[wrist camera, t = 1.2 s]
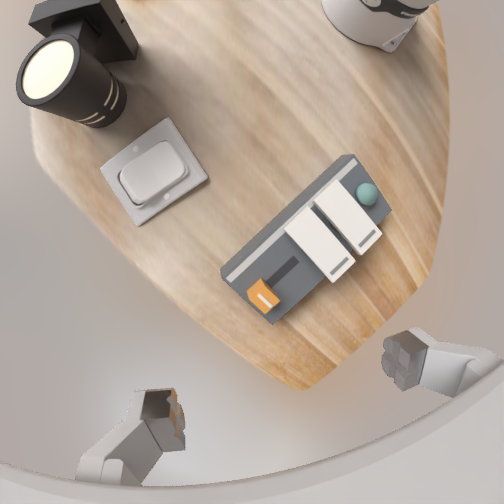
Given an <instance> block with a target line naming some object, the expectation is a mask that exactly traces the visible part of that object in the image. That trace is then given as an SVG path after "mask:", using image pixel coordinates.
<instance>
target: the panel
mask: <svg viewBox="0 0 504 504" xmlns="http://www.w3.org/2000/svg"><path fill="white" fill-rule="evenodd" d="M335 179H337V180H338V181H339V182H340V183H341V185H342V186H343V187H344V188H345V189H346V190H347V191H348V193H349V194H350V195H351V196H352V197H353V198H354V200H355V201H356V202H357V203H358V204H359V205H360V207H361V208H362V209H363V210H364V211H365V213H366V214H367V215H368V216H369V218H370V219H371V220H372V221H373V222H374V224H375V225H376V226H377V225H378V224H379V223H380V222H381V221H382V220H383V219H384V218H385V217H386V216H387V215H388V214H389V213H390V212H391V211H392V209H391V208H390V206H389V205H388V203H387V201H386V200H385V198H384V197H383V195H382V194H381V192H380V191H379V189H378V188H377V186H376V185H375V183H374V182H373V180H372V179H371V177H370V176H369V175H368V173H367V172H366V170H365V169H364V167H363V166H362V165H361V163H360V162H359V160H358V159H357V158H356V156H355V155H354V154H351V155H342V156H341V157H339V158H338V159H337V160H336V161H335V162H334V163H333V164H332V165H331V166H330V167H329V168H328V169H326V170H325V171H324V172H323V173H322V174H321V175H320V176H319V177H318V178H317V179H316V180H315V181H314V182H312V183H311V184H310V185H309V186H308V187H307V188H306V189H305V190H304V191H303V192H302V193H301V194H300V195H298V196H297V197H296V198H295V199H294V200H293V201H292V202H291V203H290V204H289V205H288V206H287V207H286V208H285V209H283V210H282V211H281V212H280V213H279V214H278V215H277V216H276V217H275V218H274V219H273V220H272V221H271V222H270V223H269V224H267V225H266V226H265V227H264V228H263V229H262V230H261V231H260V232H259V233H258V234H257V235H256V236H255V237H254V238H253V239H252V240H250V241H249V242H248V243H247V244H246V245H245V246H244V247H243V248H242V249H241V250H240V251H239V252H238V253H237V254H236V255H235V256H233V257H232V258H231V259H230V260H229V261H228V262H227V263H226V264H225V265H224V266H223V267H222V268H221V269H220V271H221V278H222V279H223V280H224V281H225V282H226V283H227V284H228V285H229V286H230V287H231V288H232V289H234V290H235V291H236V292H237V293H238V294H239V295H240V296H241V297H242V298H243V299H244V300H246V301H247V302H248V303H249V304H250V305H251V306H252V307H253V308H254V309H255V310H257V311H258V312H259V313H260V314H261V315H262V316H263V317H264V318H265V319H267V320H268V321H269V322H270V323H271V324H272V325H273V324H274V323H275V322H277V321H278V320H279V319H280V318H281V317H282V316H283V315H284V314H286V313H287V312H288V311H289V310H290V309H291V308H292V307H293V306H295V305H296V304H297V303H298V302H299V301H300V300H301V299H302V298H303V297H304V296H306V295H307V294H308V293H309V292H310V291H311V290H312V289H313V288H314V287H315V286H316V285H317V284H319V283H320V282H321V281H322V280H323V279H324V278H325V277H326V276H325V275H324V274H323V272H322V271H321V270H320V269H319V268H318V267H317V266H316V265H315V263H314V262H313V261H312V260H311V259H310V258H309V257H308V256H307V255H306V254H305V252H304V251H303V250H302V249H301V248H300V247H299V246H298V245H297V244H296V243H295V241H294V240H293V239H292V238H291V237H290V236H289V235H288V234H287V233H286V232H285V231H284V230H283V228H284V227H285V226H286V225H287V224H288V223H289V222H290V221H291V220H292V219H293V218H294V217H295V216H296V215H297V214H299V213H300V212H301V211H302V210H303V209H304V208H305V207H306V206H308V207H309V208H310V209H311V210H312V211H313V212H314V213H315V214H316V215H317V217H318V218H319V219H320V220H321V221H322V222H323V223H324V224H325V226H326V227H327V228H328V229H329V230H330V231H331V232H332V234H333V235H334V236H335V237H336V238H337V239H338V240H339V242H340V243H341V244H342V245H343V246H344V247H345V249H346V250H347V251H348V252H349V253H351V252H352V251H353V250H354V249H353V248H352V247H351V246H350V245H349V243H348V242H347V241H346V240H345V239H344V238H343V236H342V235H341V234H340V233H339V232H338V231H337V229H336V228H335V227H334V226H333V225H332V224H331V223H330V221H329V220H328V219H327V218H326V217H325V216H324V215H323V214H322V212H321V211H320V210H319V209H318V208H317V207H316V206H315V205H314V204H313V202H312V200H313V199H314V198H316V197H317V196H318V195H319V194H320V193H321V192H322V191H323V190H324V189H325V188H326V187H327V186H328V185H329V184H330V183H331V182H333V181H334V180H335ZM361 183H369V184H372V185H374V186H375V187H376V189H377V192H378V197H377V200H376V202H375V203H374V204H372V205H364V204H360V203H359V202H358V201H357V200H356V197H355V190H356V188H357V186H358V185H359V184H361ZM260 278H261V279H262V280H263V281H264V282H265V283H266V284H267V285H268V286H269V287H270V288H271V289H272V290H274V291H275V293H276V294H277V296H278V298H279V300H280V302H278V303H277V304H276V305H275V306H274V307H273V308H272V309H271V310H269V311H268V312H267V313H266V314H264V313H263V312H262V311H261V310H260V309H259V308H258V307H256V306H255V305H254V304H253V303H252V302H251V301H250V300H249V297H248V294H247V292H246V291H247V290H248V289H249V288H250V287H252V286H253V285H254V284H255V283H256V282H257V281H258V280H259V279H260Z"/></svg>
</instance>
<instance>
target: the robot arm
mask: <svg viewBox="0 0 504 504" xmlns="http://www.w3.org/2000/svg"><path fill="white" fill-rule="evenodd" d="M437 1H439V0H322V4H323V9H324V11H325V13H326V15H327V17H328V18H329V20H330V21H331V22H332V24H333V25H334V26H335V27H336V28H337V29H338V30H339V31H341V32H342V33H343V34H345V35H346V36H348V37H349V38H351V39H353V40H355V41H357V42H359V43H362V44H366V45H372V46H377V47H379V48H381V49H383V50H384V51H386V52H389V53H391V52H393V51H394V50H395V49H396V48H397V47H398V45H399V44H400V43H401V41H402V40H403V39H404V37H405V36H406V35H407V33H408V32H409V30H410V29H411V28H412V26H413V25H414V24H415V22H416V21H417V17H416V16H418V15H420V14H422V13H423V12H424V11H426V10H427V9H428V7H429V5H431V4H433V3H435V2H437ZM391 43H392V44H391ZM383 347H384V349H385V352H384V354H383V355H382V361H381V363H382V367H383V370H384V372H385V373H386V374H387V376H389V377H392V378H394V383H395V384H396V385H397V386H398V387H399V388H400V389H401V390H402V391H405V390H407V389H410V388H412V387H414V386H416V385H418V384H419V385H420V386H423V387H425V388H428V389H430V390H433V391H436V392H438V393H441V394H444V395H446V396H449V397H452V398H453V399H451V400H449V401H448V402H446V403H445V404H443V405H442V406H440V407H438V408H436V409H435V410H433V411H431V412H429V413H428V414H426V415H424V416H423V417H421V418H419V419H417V420H415V421H413V422H411V423H409V424H407V425H406V426H404V427H402V428H400V429H398V430H395V431H393V432H391V433H389V434H387V435H385V436H383V437H380V438H378V439H376V440H374V441H371V442H369V443H367V444H364V445H362V446H359V447H357V448H354V449H352V450H349V451H346V452H344V453H341V454H338V455H335V456H332V457H329V458H326V459H323V460H320V461H317V462H313V463H310V464H307V465H303V466H300V467H296V468H292V469H288V470H284V471H280V472H276V473H272V474H267V475H262V476H257V477H252V478H247V479H240V480H234V481H227V482H219V483H210V484H200V485H187V486H162V487H161V486H151V487H149V486H142V485H141V483H142V481H143V480H144V479H145V477H146V476H147V475H148V473H149V472H150V471H151V469H152V468H153V466H154V465H155V464H156V462H157V461H158V459H159V458H160V457H161V455H162V454H163V453H162V452H171V451H181V450H185V435H184V433H183V430H184V429H185V418H184V413H183V410H182V407H181V405H180V404H179V403H178V402H177V394H176V392H175V390H174V388H165V389H151V390H138V391H134V392H133V393H132V396H131V400H130V404H129V408H128V412H127V417H126V421H121V422H120V423H119V424H118V425H117V426H116V427H114V428H113V429H112V430H111V431H110V432H109V433H107V434H106V435H105V436H104V437H103V438H102V439H101V440H99V441H98V442H97V443H96V444H95V445H94V446H92V447H91V448H90V449H89V450H88V451H87V452H85V453H84V454H83V455H82V456H81V459H80V463H79V466H78V470H77V473H76V477H75V480H71V479H65V478H60V477H55V476H50V475H46V474H41V473H37V472H33V471H30V470H26V469H22V468H19V467H16V466H12V465H10V464H7V463H4V462H0V504H504V360H502V359H501V358H499V357H498V356H497V355H495V354H494V353H492V352H491V351H489V350H488V349H484V348H477V347H471V346H465V345H459V344H453V343H448V342H440V343H439V342H437V341H436V340H435V339H433V338H432V337H431V336H429V335H428V334H426V333H425V332H424V331H422V330H421V329H420V328H418V327H415V326H414V327H412V328H410V329H407V330H405V331H403V332H401V333H398V334H395V335H393V336H390V337H387V338H385V340H384V344H383Z"/></svg>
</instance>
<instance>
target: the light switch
mask: <svg viewBox="0 0 504 504" xmlns="http://www.w3.org/2000/svg"><path fill="white" fill-rule="evenodd" d="M165 140H166V141H165ZM162 141H163V142H162ZM100 170H101V172H102V174H103V175H104V177H105V178H106V180H107V182H108V183H109V185H110V186H111V188H112V189H113V191H114V193H115V194H116V196H117V197H118V199H119V200H120V202H121V203H122V205H123V206H124V208H125V209H126V211H127V212H128V214H129V215H130V217H131V218H132V220H133V221H134V223H135V224H136V226H140V225H141V224H143V223H144V222H145V221H147V220H148V219H150V218H151V217H152V216H154V215H155V214H157V213H158V212H159V211H161V210H162V209H164V208H165V207H166V206H168V205H169V204H171V203H172V202H174V201H175V200H177V199H178V198H180V197H181V196H182V195H184V194H185V193H187V192H188V191H190V190H191V189H193V188H194V187H196V186H197V185H199V184H201V183H202V182H204V181H205V180H207V179H208V176H207V174H206V173H205V171H204V170H203V168H202V167H201V165H200V164H199V162H198V161H197V159H196V157H195V156H194V154H193V153H192V151H191V150H190V148H189V147H188V145H187V144H186V142H185V141H184V139H183V137H182V136H181V134H180V133H179V131H178V130H177V128H176V127H175V125H174V124H173V122H172V121H171V119H170V118H169V117H168V118H165V119H163V120H162V121H161V122H159V123H158V124H156V125H155V126H153V127H152V128H150V129H149V130H148V131H146V132H145V133H144V134H142V135H141V136H139V137H138V138H137V139H135V140H134V141H133V142H131V143H130V144H129V145H128V146H126V147H125V148H124V149H122V150H121V151H120V152H119V153H117V154H116V155H115V156H114V157H112V158H111V159H110V160H109V161H107V162H106V163H105V164H104V165H103V166H102V167H101V168H100ZM120 172H121V173H120ZM119 174H120V181H119ZM121 183H122V184H121ZM124 188H125V189H124ZM126 191H127V192H126ZM128 194H129V195H128ZM130 197H131V198H130ZM132 200H133V201H132ZM134 202H135V203H136V204H138V205H139V204H142V205H139V206H137V205H136V204H134Z"/></svg>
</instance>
